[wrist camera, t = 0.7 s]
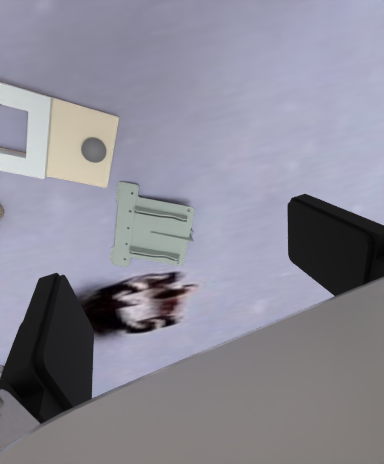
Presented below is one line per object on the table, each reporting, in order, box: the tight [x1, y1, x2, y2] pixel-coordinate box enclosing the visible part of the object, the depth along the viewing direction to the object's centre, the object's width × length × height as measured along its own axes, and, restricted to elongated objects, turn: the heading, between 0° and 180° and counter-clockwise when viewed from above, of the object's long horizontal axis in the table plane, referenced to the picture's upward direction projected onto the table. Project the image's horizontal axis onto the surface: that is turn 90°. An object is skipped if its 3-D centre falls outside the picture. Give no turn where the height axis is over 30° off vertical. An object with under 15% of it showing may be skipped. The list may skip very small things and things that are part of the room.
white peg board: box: [0, 82, 119, 188], centre depth 32 cm, size 26×10×4 cm, turn 73°
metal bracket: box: [110, 181, 195, 267], centre depth 45 cm, size 14×6×15 cm
